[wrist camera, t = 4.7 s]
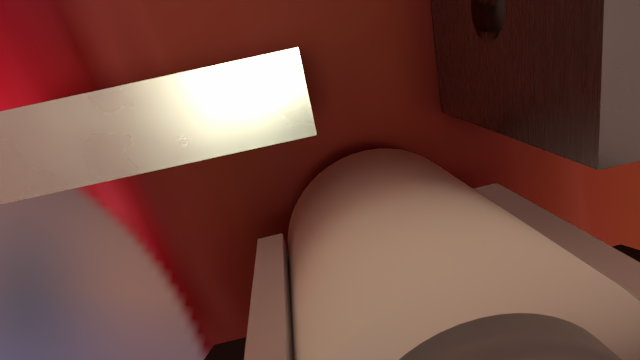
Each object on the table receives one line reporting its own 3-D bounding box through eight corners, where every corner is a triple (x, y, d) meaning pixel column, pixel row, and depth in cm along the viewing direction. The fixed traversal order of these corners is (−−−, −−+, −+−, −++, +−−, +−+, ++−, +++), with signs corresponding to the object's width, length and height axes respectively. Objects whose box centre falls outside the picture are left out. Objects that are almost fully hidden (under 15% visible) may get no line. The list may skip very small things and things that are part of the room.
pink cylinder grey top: (309, 331, 14) (352, 699, 6) (267, 172, 12) (247, 400, 4) (472, 291, 14) (727, 595, 6) (457, 129, 12) (800, 262, 4)
